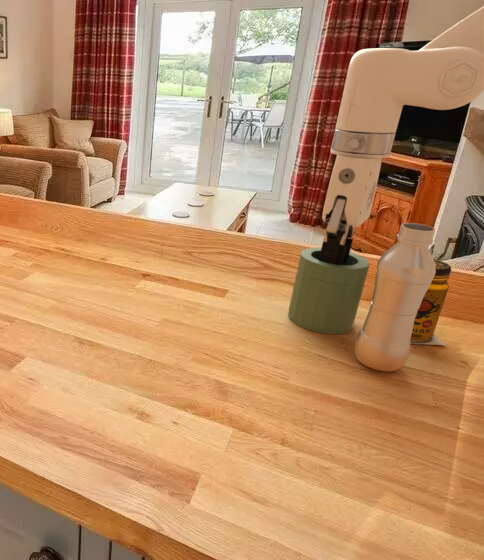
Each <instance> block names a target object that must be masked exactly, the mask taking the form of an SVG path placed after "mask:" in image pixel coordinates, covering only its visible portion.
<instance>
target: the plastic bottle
mask: <svg viewBox="0 0 484 560" xmlns="http://www.w3.org/2000/svg"><path fill="white" fill-rule="evenodd" d="M435 233H436V228H435V227H433V226H430V225H427V224H423V223H415V222H404V223H401V225H400V228H399V231H398V233H397V235H396V240H397V243H395V244H394V245H393V246H391V247H389V248H388V249H387V250H386V251H385V252H384V253H383V254H381V256H380V257H379V259H378V260H377V263H376V270H375V277H374V278H375V279H374V289H373V293H372V298H371V299H372V300H371V302H370V307H369V309H368V313H367V316H366V317H365V320H364V323H363V325H362V327H361V329H360V331H359V332H358V334H357V336H356V338H355V341H354V350H353V351H354V354H355V356H356V359H357V360H358V362H359V363H361V364H362V365H364V366H366V367H368V368H370V369H373V370H376V371H379V372H380V371H381V372H395V371H397V370H399V369H401V368H402V367H404V365H405V364H406V362H407V361H408V359H409V357H410V351H411V343H410V342H411V340H410V339H411V334H412V330H413V325H414V320H415V317H416V314H417V310H418V309H419V307H420V304H421V302H422V299H423V297H424V295H425V293H426V291H427V289H428V288H429V286H430V284H431V282H432V280H433V278H434V275H435V273H436V269H435V262H434V260H433V259H434V257H433V254H432V253H431V251H430V249H429V246H432V244H433V242H434V236H435Z"/></svg>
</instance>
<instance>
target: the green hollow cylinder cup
mask: <svg viewBox="0 0 484 560" xmlns="http://www.w3.org/2000/svg"><path fill="white" fill-rule="evenodd" d="M321 248H322V247H318V246H317V247H309V248H308V247H307V248H305V249H303V250H302V251H300V255H299V259H298V263H297V269H296V273H295V278H294V282H293V288H292V291H291V297H290V302H289V307H288V313H287V316H288V318H289V319H290V321H291V322H293V323H294V324H295V325H296V326H299V327H301V328H303V329H306V330H308V331H311V332H314V333H319V334H324V335H325V334H326V335H342V334H346V333H348V332H350V331H352V330H353V326H354V323H355V321H356V318H357V317H356V316H357V312H358V310H359V306H360V301H361V298H362V295H363V290H364V288H365V283H366V279H367V275H368V272H369V269H370V265H371V264H370V262H369V260H368V259H367V258H365V257H364V256H362V255H360V254H357V253H355V252H351V251H350V253H349V257H348V261H347V262H346V263H342V265H335V264H329V263H325V262H322V261H319V257H320V253H321Z"/></svg>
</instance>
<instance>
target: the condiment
mask: <svg viewBox="0 0 484 560" xmlns="http://www.w3.org/2000/svg"><path fill="white" fill-rule="evenodd" d="M433 260H434V262H435V269H436V273H435V275H434V278H433V280H432V282H431V284H430V286H429V288H428V289H427V291H426V293H425V295H424V297H423V299H422V302H421V304H420V307H419V309H418V310H417V314H416V317H415V320H414V325H413V330H412V334H411V339H410V340H411V342H410V345H413V344H414V345H428V346H435V345H437V346H447V344H446V343H444V342H443V341H442V340H441V339H440V338H439V337H437V336H436V335H435V331H436V327H437V325H438V322H439V318H440V316H441V313H442V309H443V306H444V303H445V300H446V297H447V295H448V291H449V288H450V285H449V283H448V281H449V280H450V275H451V273H452V267H451V265H450V264H449V263H447V262H445V261H442V260H439V259H434V258H433Z"/></svg>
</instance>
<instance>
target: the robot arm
mask: <svg viewBox="0 0 484 560" xmlns="http://www.w3.org/2000/svg"><path fill="white" fill-rule="evenodd" d="M483 92H484V5H483V6H482V7H480V8H479V9H476V10H475V11H473V12H472V13H470V14H469V15H467V16H466V17H465V18H463V19H462V20H460V21H458V22H457V23H456V24H454V25H453V26H451V27H450V28H448V29H446V30H445V31H444V32H442V33H440V34H439V35H438V36H437V37H435V38H434V39H432V40H431V41H429V42H428V43H426V44H425V45H424V46H422V47H421V48H420V49H418V50H409V49H406V48H399V47H397V48H396V47H377V48H376V47H375V48H374V47H373V48H371V47H370V48H363V49H360V50H358V51H356V52H355V53H354V54H353V55H352V57H351V59H350V61H349V64H348V69H347V74H346V79H345V82H344V88H343V91H342V97H341V101H340V105H339V111H338V115H337V119H336V123H335V128H334V133H333V138H332V142H331V146H330V152H329V153H330V154H332V155H336V156H335V157H336V158H335V161H334V165H333V168H332V172H331V176H330V179H329V183H328V187H327V192H326V195H325V200H324V204H323V210H322V215H321V216H322V217H321V220H322V221H323V222H324V223H325V224H327V225H326V230H325V233H324V237H323V241H322V244H321V247H320V248H321V253H320V257H319V261H322V262H325V263H329V264H335V265H342V263H346V262H347V261H348V257H349V253H350V252H351V249H352V246H353V241H354V238H353V237H354V235H355V232H356V228H358V227H360V226H361V225H363V224H364V223H365V222H366V221H367V220H368V219H369V218H370V216H371V213H372V208H373V205H374V199H375V195H376V190H377V186H378V181H379V176H380V171H381V166H382V159H387V158H388V159H389V158H390V155H391V152H392V148H393V145H394V140H395V137H396V133H397V129H398V125H399V122H400V118H401V114H402V111H403V108H404V106H412V107H420V108H425V109H430V110H437V111H445V110H446V111H447V110H453V109H457V108H460V107H463V106H467V105H468V104H469V103H471V102H473V101H474V100H475V99H477V98H478V97H479V96H480V95H481V94H483ZM339 228H342V229H343V232H342V230H339ZM344 244H345V245H344Z"/></svg>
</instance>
